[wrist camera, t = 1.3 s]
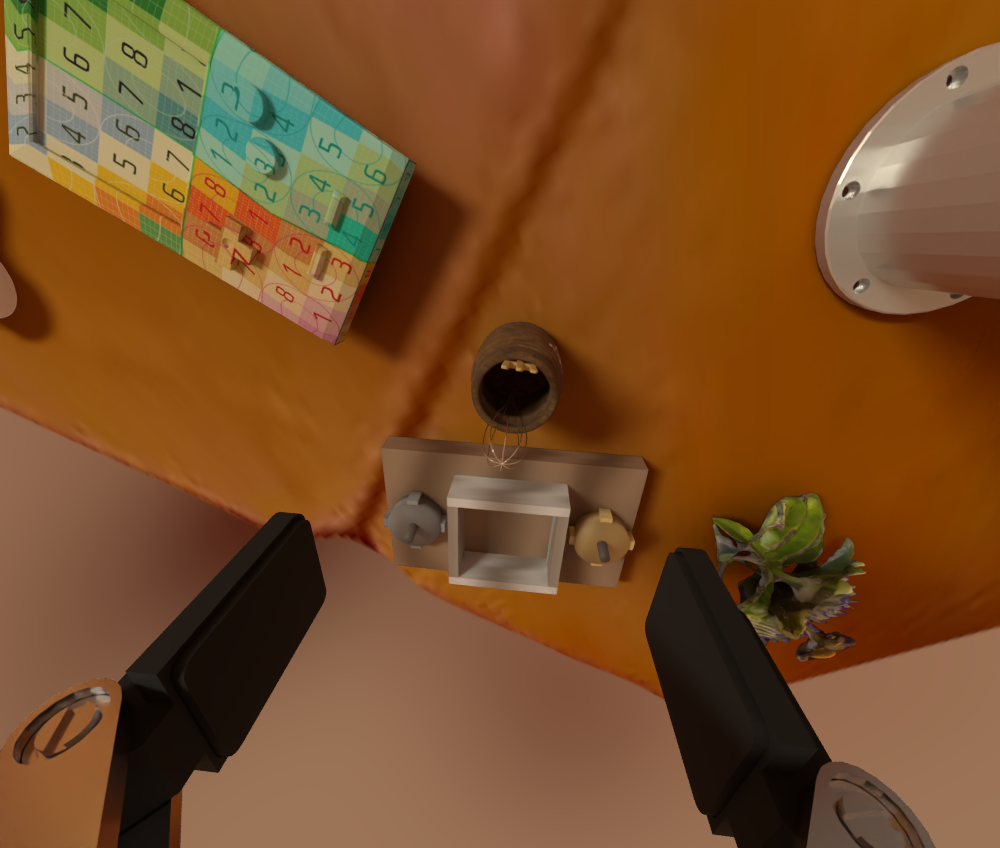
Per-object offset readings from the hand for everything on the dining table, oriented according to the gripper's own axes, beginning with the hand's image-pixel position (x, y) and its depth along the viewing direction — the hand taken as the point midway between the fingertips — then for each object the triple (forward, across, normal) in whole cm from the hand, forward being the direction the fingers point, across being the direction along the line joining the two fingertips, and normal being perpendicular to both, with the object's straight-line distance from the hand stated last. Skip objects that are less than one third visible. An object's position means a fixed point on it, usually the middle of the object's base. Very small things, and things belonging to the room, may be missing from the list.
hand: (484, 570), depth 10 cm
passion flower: (+20, -21, +15) cm, 33 cm away
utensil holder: (+20, 0, 0) cm, 20 cm away
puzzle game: (+20, +18, -11) cm, 29 cm away
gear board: (+20, 0, +14) cm, 24 cm away
